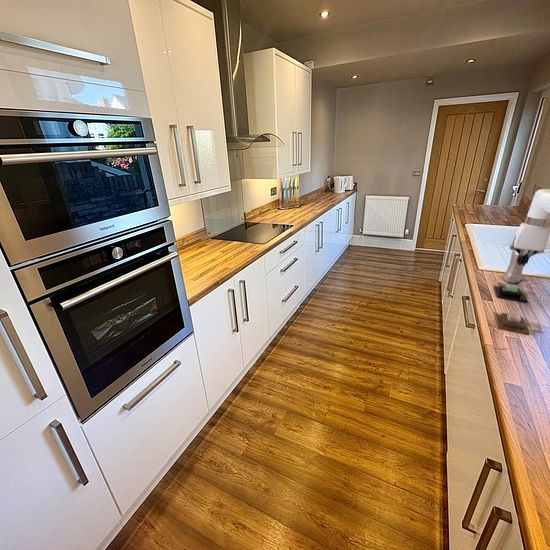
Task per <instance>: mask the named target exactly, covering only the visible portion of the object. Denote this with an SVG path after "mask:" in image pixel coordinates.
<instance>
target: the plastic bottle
mask: <svg viewBox="0 0 550 550" xmlns="http://www.w3.org/2000/svg"><path fill="white" fill-rule="evenodd" d="M527 251H528V250H526V249H524V254H523V256H524V255H525V254H526V253H527ZM510 254H511V255H510V261H509V264H508V267H507V268H506V271H505V272H504V274H503V276H502V277H503V280H504V281H505V282H506V283H511V284H518V283H519V282H520V281H521V280H522V274H523V271H524V267H525V266H523V265H522V264H521V265H518V263H517V262H516V261H517V258H518V255H519V254H518V253H517V252H516V251H514V250H511V253H510Z"/></svg>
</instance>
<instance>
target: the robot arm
mask: <svg viewBox="0 0 550 550" xmlns="http://www.w3.org/2000/svg"><path fill="white" fill-rule="evenodd" d="M549 238H550V188H541V189H538V190H536V191H535V193H534V195H533V198H532V201H531V203H530V207H529V209H528V212H527V215H526V217H525V220H524V222H521V223H520V225H519V226H518V228H517V230H516V232H515V234H514V235H513V239H512V241H511V245H510V246H509V249H510V250H511V251H513V250H514V251H516V252H517V253H518V254H519V255H518V258H517V261H516V262H517V263H518V265H521V264H522V265H523V266H524V267H525V266H526V264H528V262H529V260H530V258H531V257H533V256H535V255H537V254H544V253H545V249H546V246H547V244H548V242H549ZM524 249H526V250H528V251H527V253H526V254H525V255H524V256H523V254H524Z"/></svg>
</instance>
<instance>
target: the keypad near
mask: <svg viewBox="0 0 550 550" xmlns="http://www.w3.org/2000/svg"><path fill="white" fill-rule="evenodd" d="M507 314H508V313H505V312H501V313H500V314H497V313H495V314H494V320H495V323H496V327H497V329H498V330H501V331H505V332H506V331H507V332H511V333H516V334H520V335H525V336H529V335H530V333H531V332H530V329H529V328H528V326H527V323H526V321H525V319H524V318H523V316H520V318H521V321H520V323H518V322H513V321H509V320H508V318H507Z"/></svg>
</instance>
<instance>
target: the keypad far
mask: <svg viewBox="0 0 550 550" xmlns="http://www.w3.org/2000/svg"><path fill="white" fill-rule="evenodd" d="M505 287H506V284H505V285H504V284H500V286H498V285H494V286H493V291H494V294H495V296H496V298H497V299H501V300H507V301H511V302H512V301H513V302H518V303H523V304H526V302H527V299H526V297H525V295H524V293H523V291H522V290H521V289H520V288H519V287H517V288H518V291H517V292H512V291H506V288H505Z"/></svg>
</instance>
